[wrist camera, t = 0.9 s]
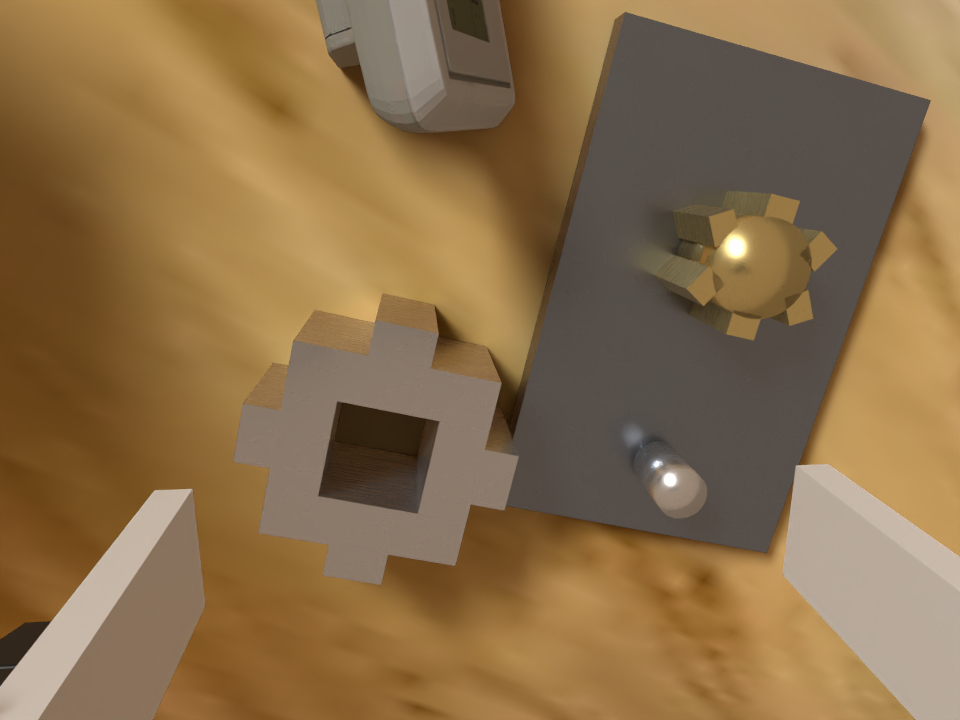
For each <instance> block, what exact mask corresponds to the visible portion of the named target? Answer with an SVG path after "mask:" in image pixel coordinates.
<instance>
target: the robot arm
mask: <svg viewBox="0 0 960 720" xmlns="http://www.w3.org/2000/svg"><path fill="white" fill-rule="evenodd" d="M783 576H784V577H785V578H786V579H787V580H788V581H789V582H790V583H791V584H792V586H793V587H794V588H795V589H796V590H797V591H798V592H799V593H800V594H801V595H802V596H803V597H804V599H805V600H806V601H807V602H808V603H809V604H810V605H811V606H812V607H813V608H814V609H815V611H816V612H817V613H818V614H819V615H820V616H821V617H822V618H823V619H824V620H825V621H826V622H827V624H828V625H829V626H830V627H831V628H832V629H833V630H834V631H835V632H836V633H837V634H838V636H839V637H840V638H841V639H842V640H843V641H844V642H845V643H846V644H847V645H848V646H849V647H850V649H851V650H852V651H853V652H854V653H855V654H856V655H857V656H858V657H859V658H860V659H861V661H862V662H863V663H864V664H865V665H866V666H867V667H868V668H869V669H870V670H871V671H872V672H873V674H874V675H875V676H876V677H877V678H878V679H879V680H880V681H881V682H882V683H883V684H884V686H885V687H886V688H887V689H888V690H889V691H890V692H891V693H892V694H893V695H894V696H895V697H896V699H897V700H898V701H899V702H900V703H901V704H902V705H903V706H904V707H905V708H906V709H907V711H908V712H909V713H910V714H911V715H912V716H913V717H914V718H915V719H916V720H960V557H959V556H958V555H956V554H955V553H953V552H952V551H951V550H949V549H948V548H946V547H945V546H944V545H942V544H941V543H939V542H938V541H936V540H935V539H934V538H932V537H931V536H929V535H928V534H927V533H925V532H924V531H922V530H921V529H919V528H918V527H917V526H915V525H914V524H912V523H911V522H910V521H908V520H907V519H905V518H904V517H902V516H901V515H900V514H898V513H897V512H895V511H894V510H893V509H891V508H890V507H888V506H887V505H885V504H884V503H883V502H881V501H880V500H878V499H877V498H875V497H874V496H873V495H871V494H870V493H868V492H867V491H866V490H864V489H863V488H861V487H860V486H858V485H857V484H856V483H854V482H853V481H851V480H850V479H849V478H847V477H846V476H844V475H843V474H841V473H840V472H839V471H837V470H836V469H834V468H833V467H832V466H830V465H829V464H819V465H796V468H795V476H794V484H793V493H792V501H791V509H790V517H789V525H788V534H787V542H786V550H785V558H784V566H783ZM205 606H206V605H205V596H204V587H203V578H202V569H201V560H200V551H199V542H198V533H197V523H196V514H195V505H194V496H193V489H176V490H154V492H153V493H152V494H151V495H150V497H149V498H148V499H147V501H146V502H145V503H144V504H143V506H142V507H141V508H140V509H139V511H138V512H137V513H136V515H135V516H134V517H133V518H132V520H131V521H130V522H129V523H128V525H127V526H126V527H125V528H124V530H123V531H122V532H121V534H120V535H119V536H118V537H117V539H116V540H115V541H114V542H113V544H112V545H111V546H110V548H109V549H108V550H107V551H106V553H105V554H104V555H103V556H102V558H101V559H100V560H99V562H98V563H97V564H96V565H95V567H94V568H93V569H92V570H91V572H90V573H89V574H88V576H87V577H86V578H85V579H84V581H83V582H82V583H81V584H80V586H79V587H78V588H77V590H76V591H75V592H74V593H73V595H72V596H71V597H70V598H69V600H68V601H67V602H66V604H65V605H64V606H63V607H62V609H61V610H60V611H59V612H58V614H57V615H56V616H55V618H54V619H53V620H52V621H48V622H30V623H24V624H23V625H21V626H20V627H18V628H17V629H15V630H14V631H12V632H11V633H9V634H8V635H6V636H5V637H3V638H2V639H0V720H153V718H154V716H155V714H156V711H157V709H158V707H159V705H160V703H161V701H162V698H163V696H164V694H165V692H166V690H167V688H168V686H169V683H170V681H171V679H172V677H173V675H174V673H175V670H176V668H177V666H178V664H179V662H180V660H181V657H182V655H183V653H184V651H185V649H186V647H187V644H188V642H189V640H190V638H191V636H192V634H193V631H194V629H195V627H196V625H197V623H198V621H199V619H200V616H201V614H202V612H203V610H204V608H205Z"/></svg>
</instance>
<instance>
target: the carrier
mask: <svg viewBox="0 0 960 720" xmlns="http://www.w3.org/2000/svg"><path fill="white" fill-rule="evenodd" d="M930 101H931V100H928V99H924V98H921V97H917V96H914V95H910V94H907V93H904V92H900V91H897V90H893V89H890V88H886V87H883V86H879V85H876V84H872V83H869V82H865V81H862V80H859V79H855V78H852V77H848V76H845V75H841V74H838V73H834V72H831V71H827V70H824V69H820V68H817V67H813V66H810V65H807V64H803V63H800V62H796V61H793V60H789V59H786V58H782V57H779V56H775V55H772V54H768V53H765V52H762V51H758V50H755V49H751V48H748V47H744V46H741V45H737V44H734V43H730V42H727V41H723V40H720V39H717V38H713V37H710V36H706V35H703V34H699V33H696V32H692V31H689V30H685V29H682V28H678V27H675V26H672V25H668V24H665V23H661V22H658V21H654V20H651V19H647V18H644V17H640V16H637V15H633V14H630V13H626V12H625V13H623V14H622V15H621V16H619V17H618V18H617V19H615V22H614V26H613V30H612V33H611V37H610V41H609V45H608V49H607V53H606V57H605V60H604V64H603V68H602V72H601V76H600V80H599V83H598V87H597V91H596V95H595V99H594V103H593V106H592V110H591V114H590V118H589V122H588V126H587V130H586V133H585V137H584V141H583V145H582V149H581V153H580V156H579V160H578V164H577V168H576V172H575V176H574V180H573V183H572V187H571V191H570V195H569V199H568V203H567V206H566V210H565V214H564V218H563V222H562V226H561V230H560V233H559V237H558V241H557V245H556V249H555V253H554V256H553V260H552V264H551V268H550V272H549V276H548V280H547V283H546V287H545V291H544V295H543V299H542V303H541V306H540V310H539V314H538V318H537V322H536V326H535V330H534V333H533V337H532V341H531V345H530V349H529V353H528V356H527V360H526V364H525V368H524V372H523V376H522V379H521V383H520V387H519V391H518V395H517V399H516V403H515V406H514V410H513V414H512V418H511V422H510V426H509V431H510V434H511V436H512V439H513V442H514V445H515V447H516V450H517V453H518V455H519V458H518V461H517V465H516V469H515V473H514V476H513V480H512V484H511V488H510V492H509V495H508V499H507V503H506V506H510V507H515V508H521V509H527V510H532V511H538V512H543V513H549V514H554V515H560V516H565V517H571V518H576V519H582V520H587V521H593V522H598V523H604V524H609V525H615V526H620V527H626V528H632V529H637V530H643V531H648V532H654V533H659V534H665V535H670V536H676V537H681V538H687V539H692V540H698V541H703V542H709V543H714V544H720V545H725V546H731V547H736V548H742V549H748V550H753V551H759V552H764V553H767V551H768V548H769V545H770V543H771V540H772V537H773V534H774V532H775V529H776V526H777V523H778V520H779V518H780V515H781V512H782V509H783V507H784V504H785V501H786V498H787V496H788V493H789V490H790V487H791V485H792V482H793V479H794V476H795V468H796V465H799V463H800V460H801V457H802V454H803V452H804V449H805V446H806V443H807V440H808V438H809V435H810V432H811V429H812V427H813V424H814V421H815V418H816V416H817V413H818V410H819V407H820V405H821V402H822V399H823V396H824V394H825V391H826V388H827V385H828V383H829V380H830V377H831V374H832V371H833V369H834V366H835V363H836V360H837V358H838V355H839V352H840V349H841V347H842V344H843V341H844V338H845V336H846V333H847V330H848V327H849V325H850V322H851V319H852V316H853V314H854V311H855V308H856V305H857V303H858V300H859V297H860V294H861V291H862V289H863V286H864V283H865V280H866V278H867V275H868V272H869V269H870V267H871V264H872V261H873V258H874V256H875V253H876V250H877V247H878V245H879V242H880V239H881V236H882V234H883V231H884V228H885V225H886V223H887V220H888V217H889V214H890V211H891V209H892V206H893V203H894V200H895V198H896V195H897V192H898V189H899V187H900V184H901V181H902V178H903V176H904V173H905V170H906V167H907V165H908V162H909V159H910V156H911V154H912V151H913V148H914V145H915V143H916V140H917V137H918V134H919V131H920V129H921V126H922V123H923V120H924V118H925V115H926V112H927V109H928V107H929V104H930Z"/></svg>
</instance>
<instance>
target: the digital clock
mask: <svg viewBox="0 0 960 720" xmlns="http://www.w3.org/2000/svg"><path fill="white" fill-rule="evenodd" d="M316 3H317V7H318V11H319V16H320V20H321V24H322V28H323V32H324V37H325V41H326V46H327V50H328V54H329V55H330V57H331V58H332V59H333V61H334V62H335V63H336V65H337V66H338V67H339V68H345V67H351V66H356V65H360V66H361V70H362V74H363V78H364V82H365V86H366V90H367V94H368V97H369V100H370V103H371V106H372V108H373V110H374V111H375V112H376V114H377V115H378V116H379V117H380V118H381V119H383V120H384V121H386V122H387V123H389V124H390V125H392V126H394V127H396V128H398V129H401V130H403V131H407V132H415V133H436V132H450V131H464V130H478V129H490V128H495V127H497V126H498V125H499V124H500V123H501V122H502V121H503V119H504V118H505V117H506V116H507V114H508V113H509V112H510V110H511V109H512V108H513V106H514V104H515V89H514V83H513V77H512V71H511V65H510V59H509V53H508V47H507V41H506V35H505V30H504V24H503V18H502V12H501V7H500V1H499V0H316Z"/></svg>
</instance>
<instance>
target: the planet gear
mask: <svg viewBox="0 0 960 720" xmlns="http://www.w3.org/2000/svg"><path fill="white" fill-rule="evenodd" d="M438 335H439V332H438V325H437V319H436V313H435V306H434V305H432V304H427V303H423V302H418V301H414V300H409V299H405V298H400V297H395V296H391V295H386V294H382V297H381V301H380V305H379V309H378V313H377V317H376V321H375V323H372V322H368V321H363V320H358V319H353V318H349V317H344V316H339V315H335V314H330V313H325V312H320V311H316V310H314V312H313V313H312V315H311V316H310V318H309V319H308V320H307V322H306V323H305V325H304V326H303V327H302V329H301V330H300V332H299V333H298V334H297V336H296V337H295V339H294V340H293V345H292V350H291V356H290V361H289V366H287V365H282V364H277V363H272V365H271V366H270V367H269V369H268V370H267V371H266V373H265V374H264V376H263V377H262V378H261V380H260V381H259V382H258V384H257V385H256V386H255V388H254V389H253V391H252V392H251V393H250V395H249V396H248V397H247V399H246V400H245V401H244V403H243V407H242V413H241V419H240V424H239V430H238V436H237V442H236V448H235V454H234V460H233V462H237V463H243V464H248V465H254V466H259V467H265V468H270V471H269V477H268V482H267V488H266V493H265V499H264V504H263V510H262V515H261V521H260V526H259V532H258V533H261V534H267V535H273V536H279V537H285V538H291V539H297V540H303V541H309V542H315V543H321V544H327V545H329V547H328V552H327V557H326V562H325V567H324V571H323V576H329V577H335V578H341V579H347V580H353V581H360V582H366V583H372V584H378V585H381V583H382V579H383V575H384V570H385V566H386V562H387V557H388V555H393V556H399V557H405V558H411V559H417V560H423V561H429V562H435V563H441V564H447V565H453V566H455V565H456V561H457V557H458V553H459V549H460V545H461V542H462V538H463V534H464V530H465V526H466V522H467V518H468V514H469V510H470V506H471V505H476V506H482V507H487V508H493V509H498V510H505V507H506V503H507V499H508V495H509V492H510V488H511V484H512V480H513V476H514V473H515V469H516V465H517V461H518V458H519V455H518V453H517V450H516V447H515V445H514V442H513V439H512V436H511V434H510V431H509V428H508V426H507V423H506V420H505V417H504V415H503V412H502V409H501V408H496V404H497V400H498V396H499V392H500V388H501V384H502V383H501V380H500V378H499V376H498V373H497V371H496V368H495V366H494V364H493V361H492V359H491V356H490V354H489V352H488V349H487V347H485V346H480V345H476V344H471V343H466V342H462V341H457V340H452V339H447V338H443V337H438ZM342 402H343V403H349V404H354V405H359V406H364V407H369V408H374V409H379V410H384V411H389V412H395V413H400V414H405V415H410V416H415V417H420V418H425V419H426V421H425V425H424V429H423V434H422V438H421V442H420V447H419V451H418V455H417V457H415V456H410V455H405V454H399V453H394V452H389V451H383V450H378V449H373V448H367V447H362V446H357V445H351V444H346V443H341V442H335V441H334V440H335V435H336V430H337V425H338V420H339V415H340V410H341V405H342Z"/></svg>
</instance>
